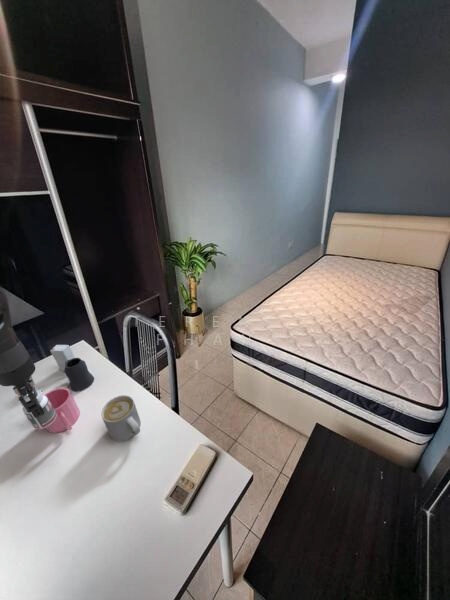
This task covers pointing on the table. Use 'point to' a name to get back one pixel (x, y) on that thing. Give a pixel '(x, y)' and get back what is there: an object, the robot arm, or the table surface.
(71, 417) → the pink ribbed cup
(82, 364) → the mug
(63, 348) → the cosmetic box
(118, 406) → the coffee mug
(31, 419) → the pill bottle
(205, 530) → the table surface
